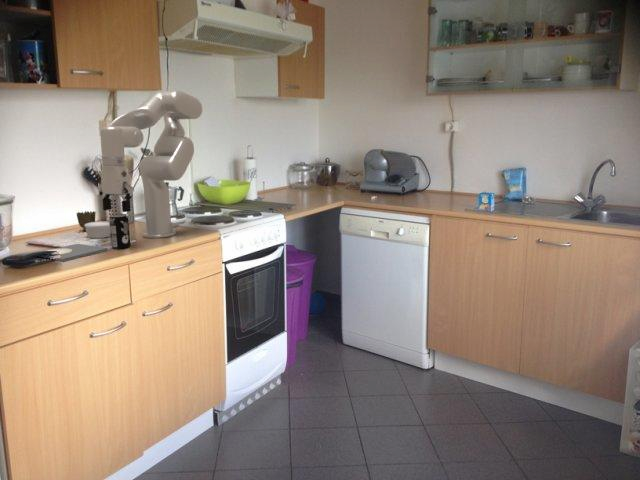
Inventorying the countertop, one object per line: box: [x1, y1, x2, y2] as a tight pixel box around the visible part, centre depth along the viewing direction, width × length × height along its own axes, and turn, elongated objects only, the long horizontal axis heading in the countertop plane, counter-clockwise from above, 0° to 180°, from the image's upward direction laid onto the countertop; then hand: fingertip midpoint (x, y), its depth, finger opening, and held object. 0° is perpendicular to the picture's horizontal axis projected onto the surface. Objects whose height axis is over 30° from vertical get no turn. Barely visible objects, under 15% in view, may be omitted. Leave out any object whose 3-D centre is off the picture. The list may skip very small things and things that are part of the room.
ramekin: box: [84, 220, 111, 239], centre depth 226 cm, size 11×11×5 cm
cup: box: [76, 210, 97, 233], centre depth 236 cm, size 8×7×8 cm
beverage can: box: [108, 213, 131, 250], centre depth 204 cm, size 7×7×12 cm
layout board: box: [45, 243, 109, 263], centre depth 196 cm, size 18×16×1 cm
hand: (116, 210), depth 202 cm, fingers open, 9 cm apart
